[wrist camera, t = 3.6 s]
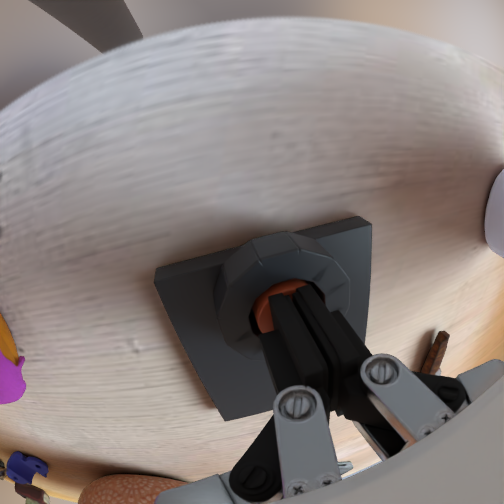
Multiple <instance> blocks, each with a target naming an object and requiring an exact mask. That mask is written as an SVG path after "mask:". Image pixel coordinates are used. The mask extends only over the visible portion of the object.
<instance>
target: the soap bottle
mask: <svg viewBox="0 0 504 504" xmlns="http://www.w3.org/2000/svg"><path fill="white" fill-rule="evenodd" d="M484 225H485V237H486V241H487V243H488V245H489V248H490V249H491V250H492V251H493V252H495V253H496V254H498V255H500V256H501V257H503V258H504V169H503V170H502V171H501V172H500V174H499V175H498V176H497V177H496V179H495V182H494V184H493V187H492V189H491V191H490V195H489V199H488V203H487V207H486V215H485V223H484Z"/></svg>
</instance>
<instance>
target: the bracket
mask: <svg viewBox="0 0 504 504" xmlns="http://www.w3.org/2000/svg"><path fill="white" fill-rule="evenodd" d="M36 472H38V473H39V474H41V475H42V476H44V477H45V478H46V477H47V473H48V472H49V471H48V466H47V464H45V463H44V462H43V461H41V460H40V459H38V458H35V457H28V458H27V457H26V456H24V455H23V454H22V453H20V452H19V451H16V452H14V453H13V454H12V455H11V456H10V458H9V460H8V462H7V469H6V474H7V476H8V477H9V478H11V479H12V480H14V481H15V482H17V483H20V484H26V483H29V484H32V479H33V476H34V474H35V473H36Z"/></svg>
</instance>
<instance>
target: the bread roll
mask: <svg viewBox="0 0 504 504" xmlns="http://www.w3.org/2000/svg"><path fill="white" fill-rule="evenodd" d="M6 469H7V468H5V467H4V466H1V465H0V479H1V480H4V478H5V477H6V476H7V475H6Z"/></svg>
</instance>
